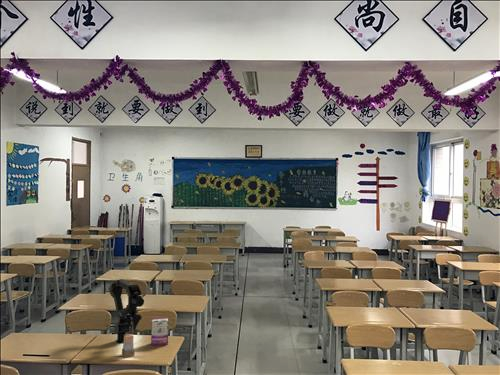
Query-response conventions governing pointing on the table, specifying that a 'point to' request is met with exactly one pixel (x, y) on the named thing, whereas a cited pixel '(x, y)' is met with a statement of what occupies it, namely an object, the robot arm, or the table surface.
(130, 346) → the slate block
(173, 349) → the table surface
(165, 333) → the candy bar box
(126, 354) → the walnut base block
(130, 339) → the terracotta cube
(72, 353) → the table surface
